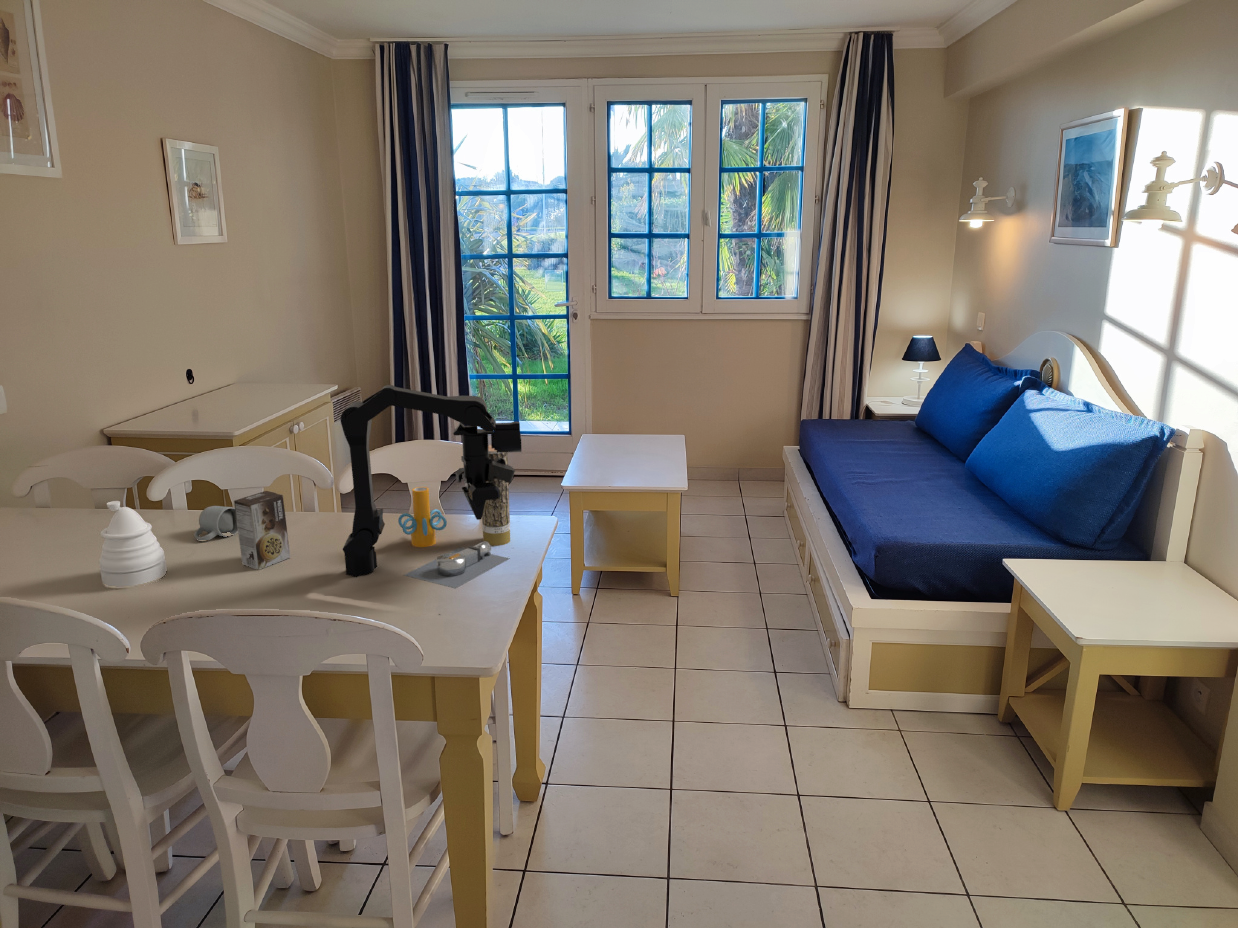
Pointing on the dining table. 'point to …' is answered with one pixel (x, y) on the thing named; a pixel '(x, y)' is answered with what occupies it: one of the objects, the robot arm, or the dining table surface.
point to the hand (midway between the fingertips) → (478, 519)
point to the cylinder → (422, 519)
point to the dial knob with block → (457, 561)
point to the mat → (471, 572)
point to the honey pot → (129, 550)
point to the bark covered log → (497, 510)
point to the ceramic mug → (217, 522)
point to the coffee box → (262, 529)
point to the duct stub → (484, 549)
